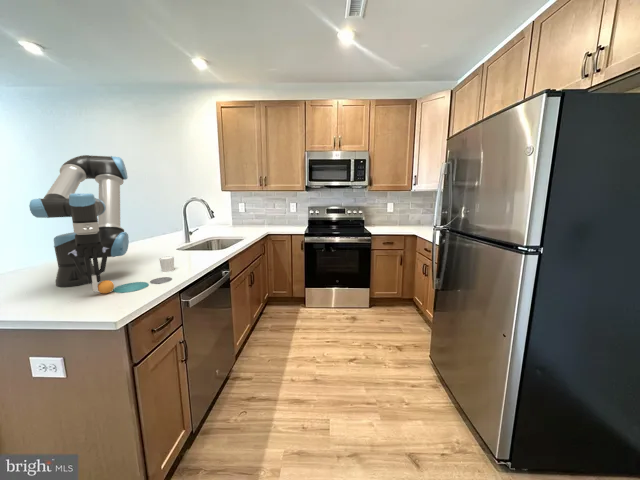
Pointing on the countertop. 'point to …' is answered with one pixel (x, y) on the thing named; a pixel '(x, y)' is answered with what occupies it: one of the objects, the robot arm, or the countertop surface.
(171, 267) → the shot glass
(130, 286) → the disc
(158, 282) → the disc
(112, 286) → the ball
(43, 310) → the countertop surface
